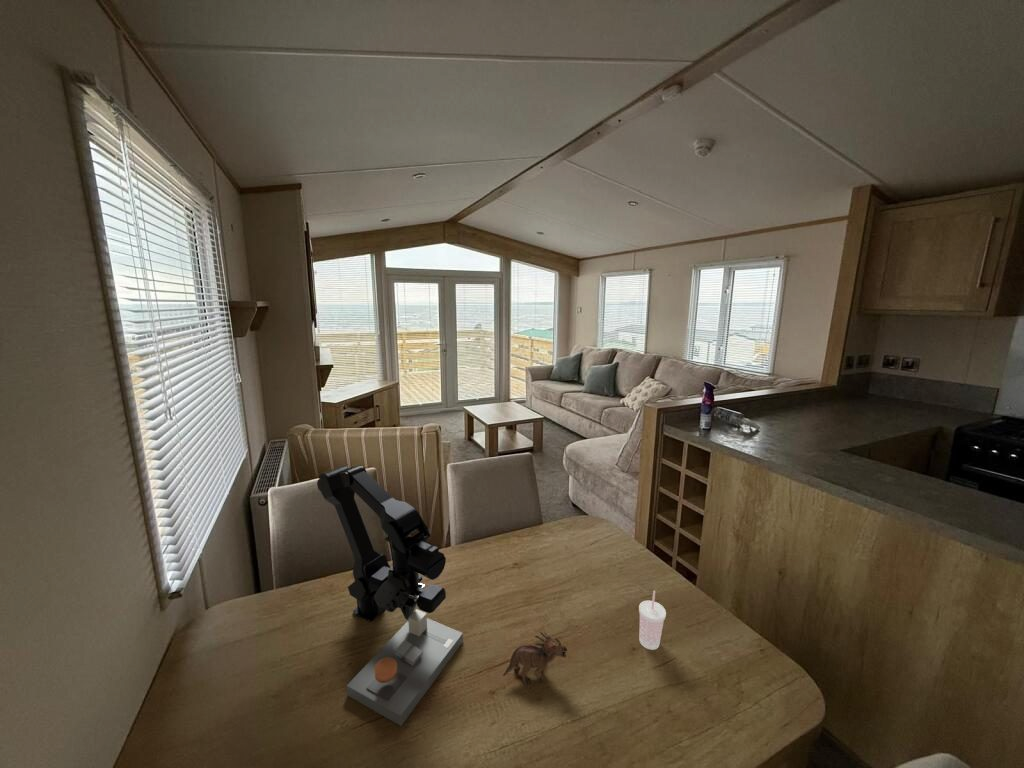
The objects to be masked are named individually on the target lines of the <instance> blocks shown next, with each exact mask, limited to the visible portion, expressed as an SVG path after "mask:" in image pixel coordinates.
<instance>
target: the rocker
mask: <svg viewBox="0 0 1024 768" xmlns="http://www.w3.org/2000/svg"><path fill="white" fill-rule="evenodd" d="M422 652H423V651H422V650H420V649H418V648H417V647H415V646H414V645H412V644H411V643H409V642H408V641H406V640H404V641H403V642H402V643H401V644H400V646H399V647H398V648H397V649H396V650H395V654H396V655H397V656H399V657H400V658H402V659H403V660H404V661H406V662H408V663H409V664H411V665H412V666H413V665H414V664H415V663H416V661H417V660H418V659H419V658H420V657H421V655H422Z"/></svg>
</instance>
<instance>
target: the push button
mask: <svg viewBox="0 0 1024 768" xmlns="http://www.w3.org/2000/svg"><path fill="white" fill-rule="evenodd" d="M374 671H375V679H376V680H377V681H378V682H380V683H387V682H389V681H391V680H392V679H394V677H395V676H396V674H397V662H396V660H395V659H393V658H390V657H387V658H383V659H381V660H380V661H378V662H377V664H376V665H375V668H374Z"/></svg>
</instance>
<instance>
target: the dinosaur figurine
mask: <svg viewBox="0 0 1024 768" xmlns="http://www.w3.org/2000/svg"><path fill="white" fill-rule="evenodd" d="M539 634H540V635H541V636H542V637H541V636H539V635H534V637H535V638H537V639H538V640H540V641H541V642H537V643H535V644H534V645H533V644H520V645H519V646H518V647H517V648H515V650H514V652H513V653H512V655H511V658H510V662H509V664H508V667H507V668H506V669H505V671H504V673H503V674H502V676H503V677H505V676H506V675H507V674H508V673H509V672H511V671H512V670H513V669H514V670H517V671H519V670H520V668H521V667H520V665H521V666H523V667H522V670H521V673H520V675H521V677H522V680H523V681H522V682H523V683H524V685H525V686H527V685H528V684H530V683H531V682H530V681H531V678H530V677H528V676H527V675H528V673H529V672H530V671H531V669H532V668H533V669H535V668H536V669H535V670H534V672H533V675H534V677H536V681H537V682H540V683H543V680H544V679H543V678H542V677H543V676H540V674H541V673H542V671H544V670H546V668H547V666H548V664H550V663H551V662H553V660H554V659H556V657H561V658H565V659H566V657H567V652H568V648H567V647H566V645H564V644H562V642H561V641H560V639H559V638H557V637H554V639H555V641H554V640H553V639H552V637H551V636H550V635H549V634H547V632H546V631H544V632H542V631H539ZM543 637H544V638H543ZM539 646H540V647H539Z"/></svg>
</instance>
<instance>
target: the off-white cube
mask: <svg viewBox="0 0 1024 768" xmlns="http://www.w3.org/2000/svg"><path fill="white" fill-rule="evenodd" d="M427 618H428V614H427V612H425V611H422V610H420V609H417V608H415V609H414V612H413V613H412V614H411V615H410V616H409V617H408V620H409V632H410V633H412V634H415V635H417V636H420V635H421V634H422V633H423V632H424V631H425V629H426V628H427ZM408 620H407V621H408Z"/></svg>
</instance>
